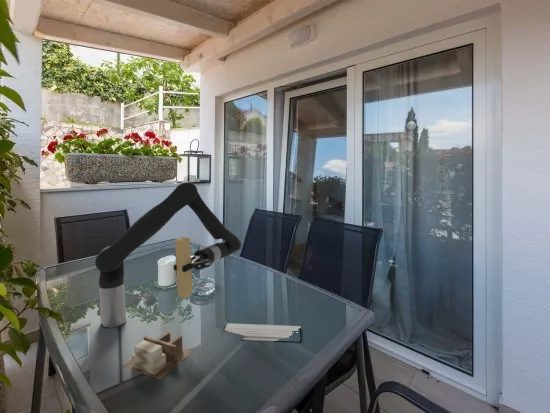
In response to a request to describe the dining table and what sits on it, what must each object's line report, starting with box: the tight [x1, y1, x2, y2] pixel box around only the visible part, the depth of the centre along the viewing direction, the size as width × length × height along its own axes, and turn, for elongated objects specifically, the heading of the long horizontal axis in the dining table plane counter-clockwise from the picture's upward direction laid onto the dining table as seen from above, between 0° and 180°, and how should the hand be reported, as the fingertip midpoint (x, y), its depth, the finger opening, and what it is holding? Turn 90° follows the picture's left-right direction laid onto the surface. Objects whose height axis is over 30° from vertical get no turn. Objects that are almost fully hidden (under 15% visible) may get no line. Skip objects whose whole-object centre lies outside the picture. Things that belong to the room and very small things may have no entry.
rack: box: [122, 331, 194, 380], centre depth 105 cm, size 16×16×8 cm
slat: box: [174, 236, 193, 299], centre depth 114 cm, size 4×4×22 cm
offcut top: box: [133, 339, 162, 361], centre depth 100 cm, size 8×4×3 cm, turn 66°
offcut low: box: [130, 352, 166, 375], centre depth 101 cm, size 10×5×4 cm, turn 66°
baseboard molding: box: [221, 322, 302, 342], centre depth 123 cm, size 31×3×12 cm
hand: (178, 268), depth 111 cm, fingers closed on slat, 3 cm apart
